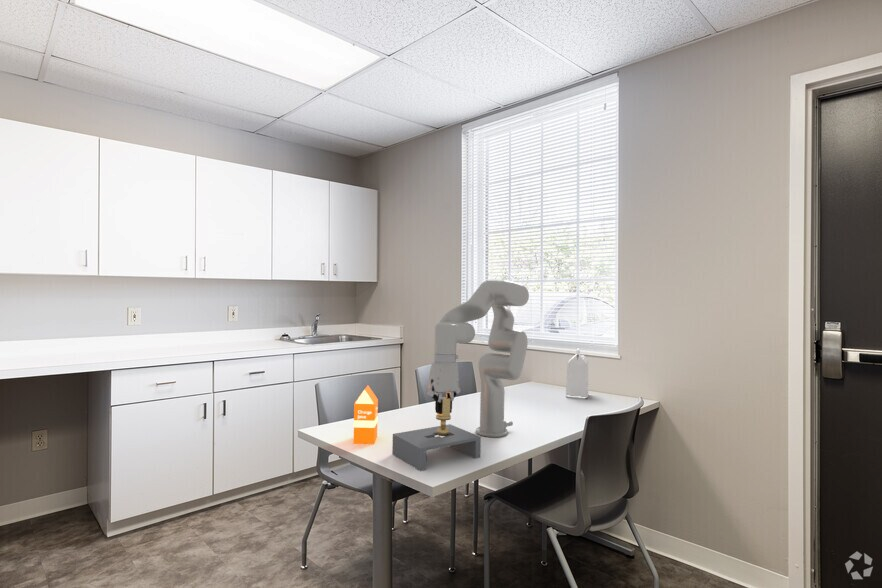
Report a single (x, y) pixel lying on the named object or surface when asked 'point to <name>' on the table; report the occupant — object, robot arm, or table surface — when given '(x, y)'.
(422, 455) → the keyhole board
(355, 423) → the orange juice
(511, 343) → the robot arm
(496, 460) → the table surface
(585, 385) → the milk
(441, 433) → the brass peg
